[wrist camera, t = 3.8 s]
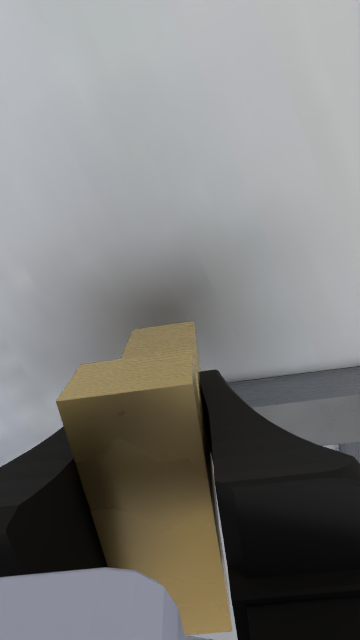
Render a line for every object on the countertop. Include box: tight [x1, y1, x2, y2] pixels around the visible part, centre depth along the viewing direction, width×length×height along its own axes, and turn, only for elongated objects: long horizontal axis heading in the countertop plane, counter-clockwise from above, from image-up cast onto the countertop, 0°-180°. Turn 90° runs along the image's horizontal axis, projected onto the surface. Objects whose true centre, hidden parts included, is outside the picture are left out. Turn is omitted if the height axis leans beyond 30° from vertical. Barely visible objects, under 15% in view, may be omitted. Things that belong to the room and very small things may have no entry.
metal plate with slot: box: [227, 366, 360, 463], centre depth 22 cm, size 12×12×3 cm
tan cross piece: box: [56, 321, 232, 635], centre depth 11 cm, size 2×7×8 cm, turn 9°
